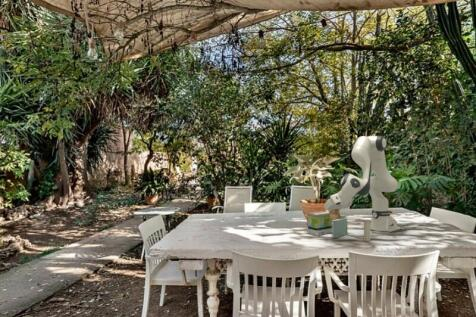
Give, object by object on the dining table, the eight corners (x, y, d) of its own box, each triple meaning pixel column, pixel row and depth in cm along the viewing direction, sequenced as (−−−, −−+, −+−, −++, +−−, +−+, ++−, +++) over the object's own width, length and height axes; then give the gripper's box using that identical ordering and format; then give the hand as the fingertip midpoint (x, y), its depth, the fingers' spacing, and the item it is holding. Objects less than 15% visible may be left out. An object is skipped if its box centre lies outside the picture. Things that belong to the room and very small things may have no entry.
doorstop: (335, 219, 249) (333, 207, 250) (340, 219, 245) (338, 207, 246) (330, 220, 247) (328, 208, 248) (336, 219, 242) (333, 207, 244)
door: (344, 233, 259) (344, 217, 259) (347, 233, 257) (347, 218, 257) (330, 237, 248) (330, 220, 248) (334, 237, 246) (334, 221, 246)
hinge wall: (342, 233, 262) (342, 215, 262) (346, 233, 259) (345, 215, 259) (339, 233, 261) (339, 215, 261) (343, 234, 258) (342, 216, 258)
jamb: (367, 239, 242) (367, 220, 242) (370, 240, 240) (370, 220, 240) (363, 240, 241) (363, 220, 240) (366, 241, 238) (366, 221, 238)
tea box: (318, 236, 255) (317, 214, 254) (307, 233, 263) (307, 212, 262) (332, 232, 263) (332, 212, 263) (321, 230, 271) (321, 210, 271)
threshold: (349, 234, 256) (349, 234, 256) (364, 238, 244) (364, 238, 244) (346, 235, 255) (346, 234, 255) (361, 239, 243) (361, 238, 243)
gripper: (352, 193, 246) (342, 206, 254) (328, 195, 236) (318, 208, 245) (357, 201, 242) (346, 213, 251) (333, 203, 232) (323, 216, 241)
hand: (332, 211), depth 248 cm, fingers closed on doorstop, 5 cm apart
